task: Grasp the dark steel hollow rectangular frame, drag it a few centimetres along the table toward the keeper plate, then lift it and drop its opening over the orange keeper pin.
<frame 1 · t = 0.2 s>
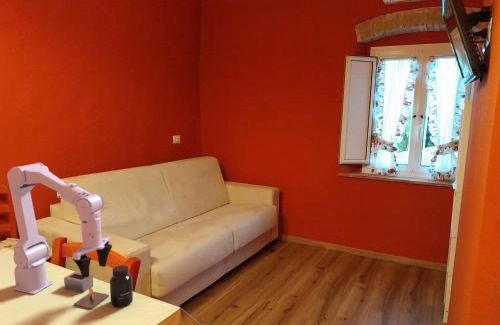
hand: (94, 271, 114), 10 cm above the table, fingers open, 7 cm apart
supplement bottle: (122, 303, 114), on the table
hollow rectangular frame: (79, 287, 123), on the table
keeper: (91, 300, 115), on the table
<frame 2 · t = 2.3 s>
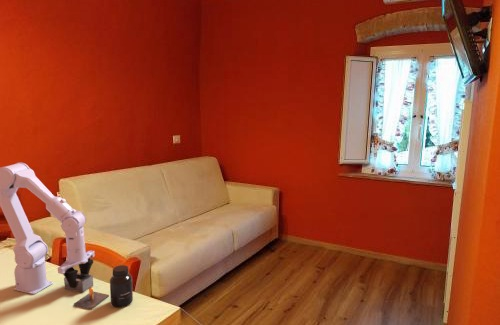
hand: (78, 283, 123), 1 cm above the table, fingers closed on hollow rectangular frame, 5 cm apart
hollow rectangular frame: (79, 287, 123), on the table, touching gripper
everything else where it was.
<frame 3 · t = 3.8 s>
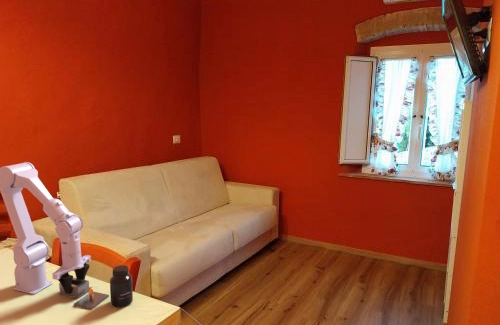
hand: (74, 289, 119), 1 cm above the table, fingers closed on hollow rectangular frame, 5 cm apart
hollow rectangular frame: (74, 292, 119), on the table, touching gripper
everything else where it was.
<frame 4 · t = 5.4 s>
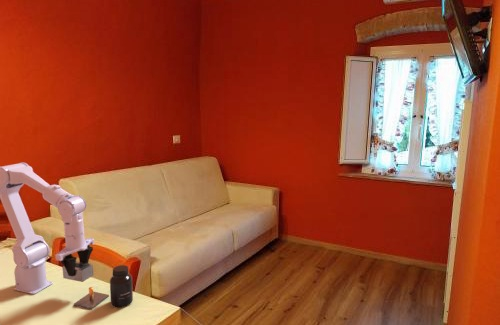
hand: (77, 271, 116), 8 cm above the table, fingers closed on hollow rectangular frame, 5 cm apart
hollow rectangular frame: (78, 276, 117), point 7 cm above the table, touching gripper
everything else where it was.
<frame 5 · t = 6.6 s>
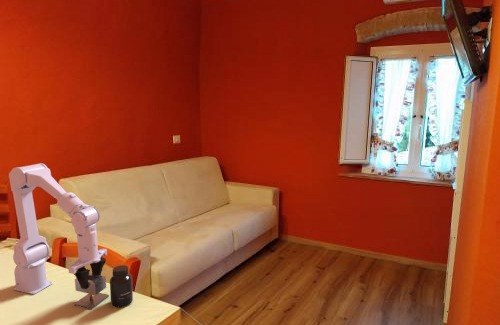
hand: (90, 284, 114), 6 cm above the table, fingers closed on hollow rectangular frame, 5 cm apart
hollow rectangular frame: (91, 289, 114), point 4 cm above the table, touching gripper
everything else where it was.
when the fingers open (4 cm above the table, at t = 7.6 s): hollow rectangular frame drops 1 cm, resting on keeper.
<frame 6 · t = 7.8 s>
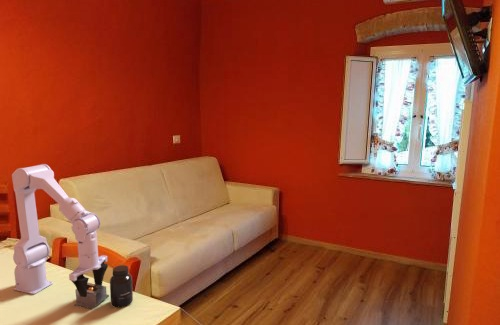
hand: (91, 290, 114), 4 cm above the table, fingers open, 6 cm apart
hollow rectangular frame: (91, 299, 114), point 1 cm above the table, touching keeper
everything else where it was.
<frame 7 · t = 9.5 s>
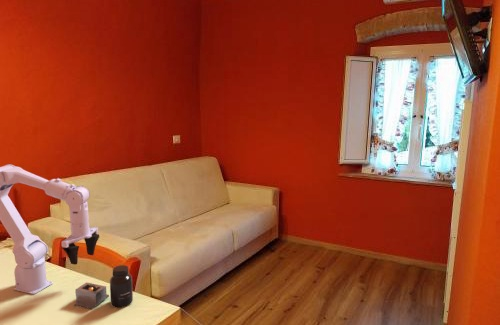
hand: (82, 259, 122), 10 cm above the table, fingers open, 7 cm apart
nothing on the table moved.
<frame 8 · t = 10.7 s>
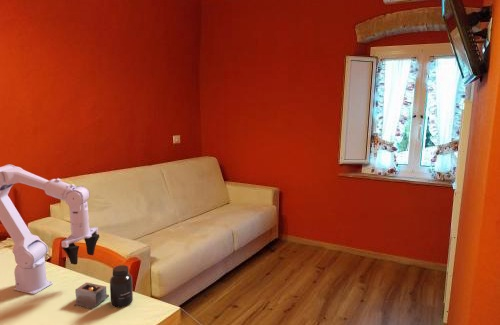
hand: (82, 259, 122), 10 cm above the table, fingers open, 7 cm apart
nothing on the table moved.
at the end: hollow rectangular frame 0.0 cm from the keeper (horizontally); hollow rectangular frame point 0.6 cm above the table; the gripper is holding nothing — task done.
